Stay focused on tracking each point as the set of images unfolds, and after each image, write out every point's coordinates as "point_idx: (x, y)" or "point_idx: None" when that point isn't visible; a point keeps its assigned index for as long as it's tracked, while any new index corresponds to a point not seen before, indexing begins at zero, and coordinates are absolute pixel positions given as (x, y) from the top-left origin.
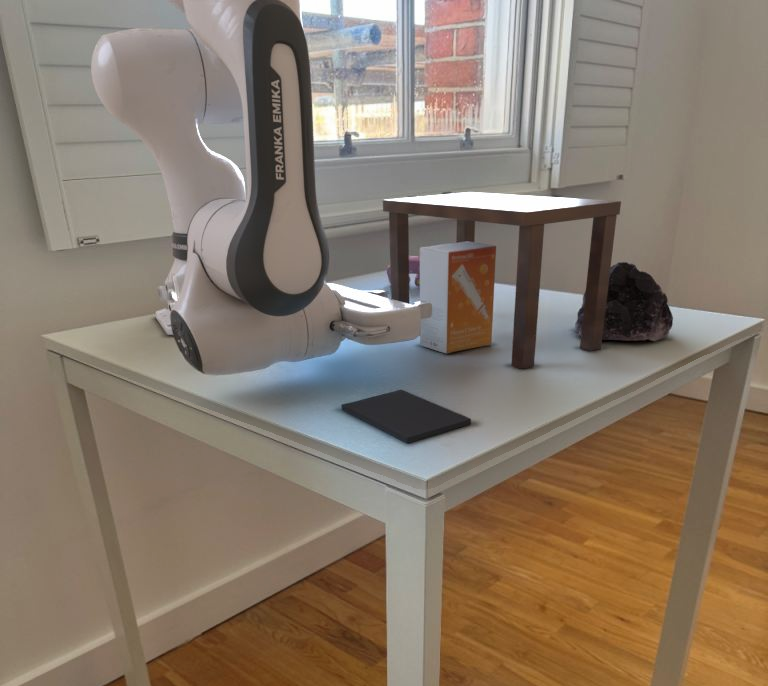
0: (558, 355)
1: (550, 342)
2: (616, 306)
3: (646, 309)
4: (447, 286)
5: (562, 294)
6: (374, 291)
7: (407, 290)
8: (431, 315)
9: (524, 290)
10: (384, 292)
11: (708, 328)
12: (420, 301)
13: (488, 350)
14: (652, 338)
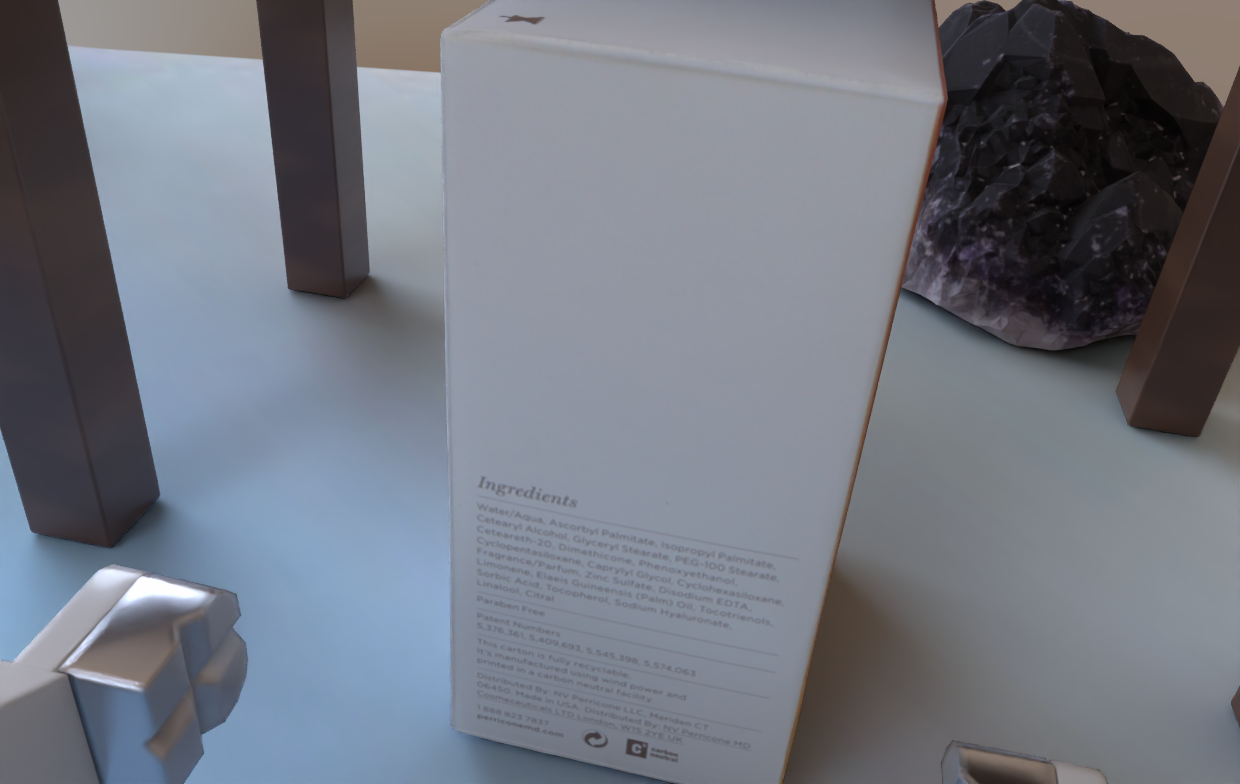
0: (1182, 529)
1: (965, 412)
2: (1151, 200)
3: None
4: (865, 398)
5: None
6: (76, 651)
7: (107, 291)
8: (611, 584)
9: None
10: (208, 611)
11: None
12: (968, 781)
13: (876, 612)
14: None
